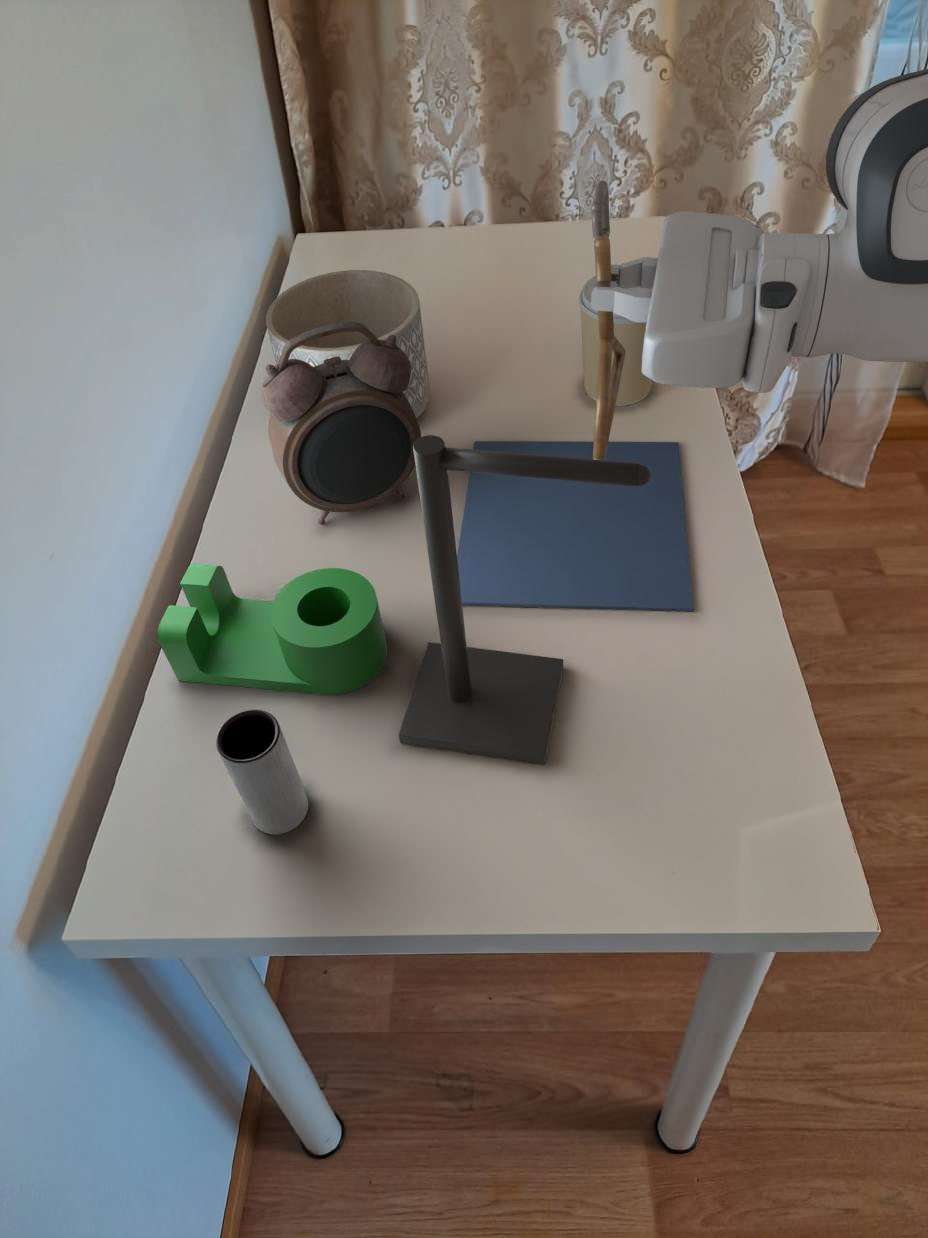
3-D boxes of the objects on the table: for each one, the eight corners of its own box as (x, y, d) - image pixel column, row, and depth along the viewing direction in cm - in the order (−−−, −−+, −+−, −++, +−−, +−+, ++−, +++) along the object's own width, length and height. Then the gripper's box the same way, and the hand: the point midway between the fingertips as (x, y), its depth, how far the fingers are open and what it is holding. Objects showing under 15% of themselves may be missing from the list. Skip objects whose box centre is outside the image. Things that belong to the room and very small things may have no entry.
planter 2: (283, 383, 110) (258, 286, 100) (414, 356, 112) (401, 258, 102) (301, 465, 99) (274, 364, 90) (445, 433, 101) (434, 331, 92)
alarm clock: (302, 545, 91) (253, 373, 76) (285, 502, 95) (235, 332, 80) (437, 502, 93) (416, 328, 79) (414, 463, 98) (390, 291, 83)
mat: (678, 444, 97) (678, 441, 97) (692, 611, 81) (693, 608, 81) (474, 443, 100) (474, 440, 99) (450, 605, 84) (450, 602, 84)
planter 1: (262, 845, 69) (226, 773, 61) (243, 799, 72) (207, 725, 64) (317, 818, 70) (289, 744, 62) (297, 775, 73) (267, 699, 65)
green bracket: (396, 620, 83) (387, 571, 78) (374, 699, 77) (362, 651, 72) (213, 605, 86) (193, 557, 81) (178, 680, 80) (154, 633, 75)
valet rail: (630, 676, 77) (658, 412, 57) (617, 776, 71) (644, 519, 50) (429, 650, 80) (389, 393, 60) (399, 743, 74) (343, 491, 54)
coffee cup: (656, 363, 107) (666, 267, 98) (660, 410, 101) (671, 312, 92) (577, 363, 108) (580, 268, 99) (576, 410, 102) (578, 313, 93)
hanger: (627, 353, 85) (620, 143, 72) (605, 468, 75) (592, 246, 61) (614, 353, 86) (605, 144, 72) (591, 467, 75) (574, 247, 61)
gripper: (783, 192, 73) (611, 189, 76) (783, 328, 60) (577, 318, 63) (769, 266, 78) (608, 260, 81) (767, 407, 65) (575, 394, 68)
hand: (594, 287), depth 72 cm, fingers closed on hanger, 1 cm apart
